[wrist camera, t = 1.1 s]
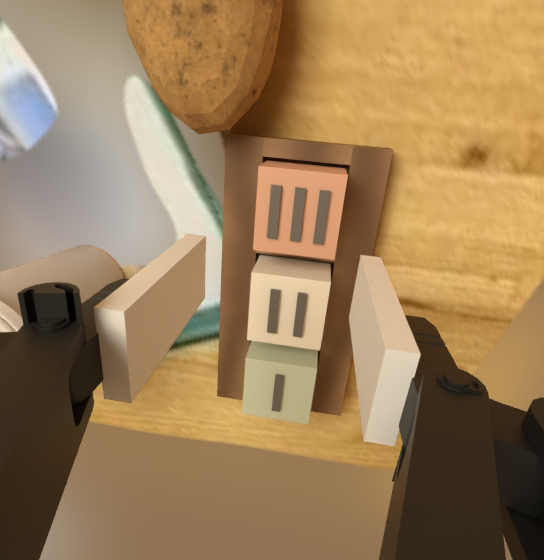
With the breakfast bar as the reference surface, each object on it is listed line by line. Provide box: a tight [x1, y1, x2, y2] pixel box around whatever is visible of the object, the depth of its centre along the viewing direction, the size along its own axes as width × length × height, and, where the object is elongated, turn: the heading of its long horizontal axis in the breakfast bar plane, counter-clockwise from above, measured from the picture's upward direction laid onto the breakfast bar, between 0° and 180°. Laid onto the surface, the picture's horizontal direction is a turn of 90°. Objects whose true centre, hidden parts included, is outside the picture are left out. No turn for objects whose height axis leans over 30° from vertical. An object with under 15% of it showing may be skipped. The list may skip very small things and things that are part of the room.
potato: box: [123, 0, 283, 134], centre depth 23 cm, size 10×14×8 cm
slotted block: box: [242, 341, 318, 424], centre depth 33 cm, size 6×6×4 cm
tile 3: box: [253, 160, 348, 260], centre depth 27 cm, size 6×6×4 cm
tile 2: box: [247, 255, 331, 350], centre depth 30 cm, size 6×6×4 cm
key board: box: [217, 133, 393, 416], centre depth 32 cm, size 12×24×2 cm, turn 175°
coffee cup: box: [0, 245, 124, 332], centre depth 29 cm, size 10×10×15 cm
